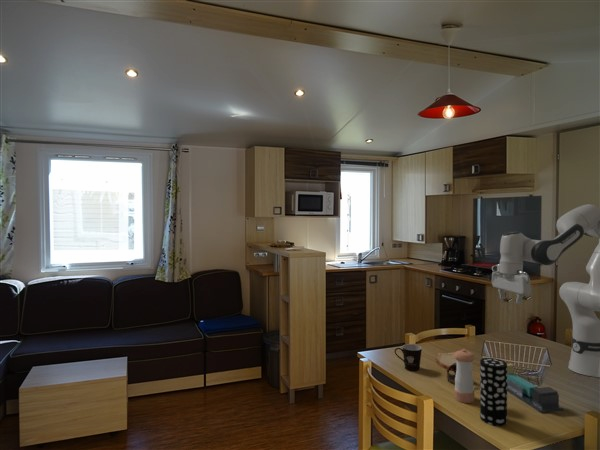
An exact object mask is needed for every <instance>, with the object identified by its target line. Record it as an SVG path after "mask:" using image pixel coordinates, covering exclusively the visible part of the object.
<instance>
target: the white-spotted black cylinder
mask: <svg viewBox="0 0 600 450" xmlns="http://www.w3.org/2000/svg"><path fill="white" fill-rule="evenodd" d="M479 362H480V363H479V364H480V365H479V367H480V369H479V371H480V372H479V373H480V378H479V379H480V381H479V383H480V390H479V391H480V392H479V394H480V395H479V396H480V398H479V400H480V402H479V403H480V405H479V407H480V412H479V414H480V415H479V417H480V420H481V421H482V422H484V423H485V424H487V425H489V426H494V427H495V426H496V427H503V426H506V425H507V424H508V391H507V364H508V363H507V362H506V361H504V360H502V359H499V358H493V357H484V358H481V359H480V360H479Z"/></svg>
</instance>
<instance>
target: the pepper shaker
mask: <svg viewBox="0 0 600 450" xmlns="http://www.w3.org/2000/svg"><path fill="white" fill-rule="evenodd" d="M455 352H456V353H455V355H454V357H455V359H456V360H457V370H456V376H455V381H454V387H453V398H454V400H455V401H457V402H459V401H460V402H459V403H462V402H463V403H464V404H471V403H474V402H475V390H474V376H473V361H474V359H475V355H474V354H473V352H470V351H469V350H467V349H465V348H462V349H460V350H456V351H455ZM463 403H462V404H463Z"/></svg>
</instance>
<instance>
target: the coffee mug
mask: <svg viewBox="0 0 600 450" xmlns="http://www.w3.org/2000/svg"><path fill="white" fill-rule="evenodd" d="M422 349H423V348H422V346H421V345H418V344H415V343H414V344H413V343H407V344H403V345H402V347H401V348H400V347H396V348H395V349H394V354H395V355H396V357H397V358H398V359H399V360H401V361H402V362H403V363H404V369H405V370H406V371H410V372H418V371H420V367H421V359H422V351H423V350H422ZM397 350H400V351H401V352H402V355H403V358H402V357H401V356H400V355H398V353H397Z"/></svg>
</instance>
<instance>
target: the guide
mask: <svg viewBox="0 0 600 450" xmlns="http://www.w3.org/2000/svg"><path fill="white" fill-rule="evenodd" d="M523 379H524V380H526V379H525V378H523ZM507 393H509V394H511V395H513V396H514V397H515V398H517V399H519V400H520V401H522V402H524V403H525V404H526V405H528V406H530V407H531V408H533V409H534V410H536V411H537V412H539V413H541V414H544V413H545V414H546V413H552V412H563V411H564V409H565V408H564V407H563V406H561V405H560V403H559V399H560V394H558V393H559V392H558V391H557V390H556V389H554V388H552V387H550V386H545V387H538V388H533V389H532V397H529V396H527V395H526V394H524V387H522V386H520V385H519V384H517V383H515V382H514V381H512V380H508V383H507Z"/></svg>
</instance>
